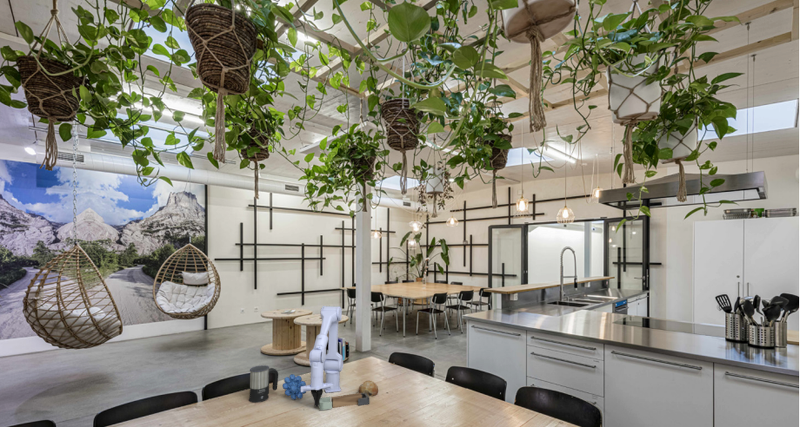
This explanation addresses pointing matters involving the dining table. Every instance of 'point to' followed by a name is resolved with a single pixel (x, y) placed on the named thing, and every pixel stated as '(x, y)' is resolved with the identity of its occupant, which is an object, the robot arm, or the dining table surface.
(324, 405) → the sliding cap
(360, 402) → the fixed cap
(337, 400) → the slat
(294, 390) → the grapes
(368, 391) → the bread roll
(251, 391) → the milk frother
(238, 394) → the dining table surface
